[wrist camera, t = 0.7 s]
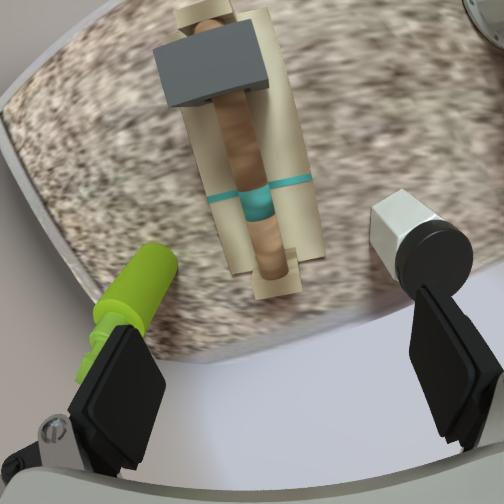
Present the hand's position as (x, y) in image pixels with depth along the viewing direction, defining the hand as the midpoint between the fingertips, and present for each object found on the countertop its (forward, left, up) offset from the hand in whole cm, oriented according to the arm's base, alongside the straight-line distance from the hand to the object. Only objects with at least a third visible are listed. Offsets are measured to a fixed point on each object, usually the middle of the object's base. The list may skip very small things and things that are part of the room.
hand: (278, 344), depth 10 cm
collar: (+2, -12, -26) cm, 28 cm away
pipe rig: (+2, -4, -28) cm, 28 cm away
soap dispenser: (+18, +8, -28) cm, 34 cm away
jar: (-14, +9, -28) cm, 33 cm away
